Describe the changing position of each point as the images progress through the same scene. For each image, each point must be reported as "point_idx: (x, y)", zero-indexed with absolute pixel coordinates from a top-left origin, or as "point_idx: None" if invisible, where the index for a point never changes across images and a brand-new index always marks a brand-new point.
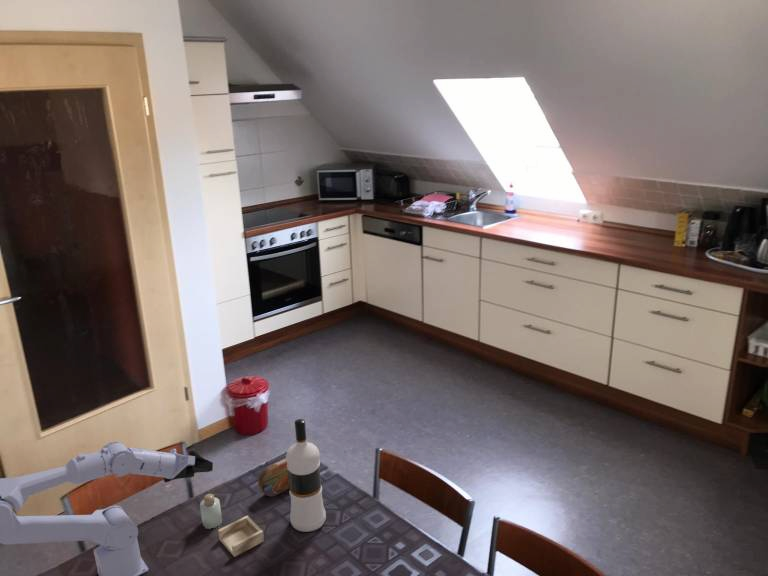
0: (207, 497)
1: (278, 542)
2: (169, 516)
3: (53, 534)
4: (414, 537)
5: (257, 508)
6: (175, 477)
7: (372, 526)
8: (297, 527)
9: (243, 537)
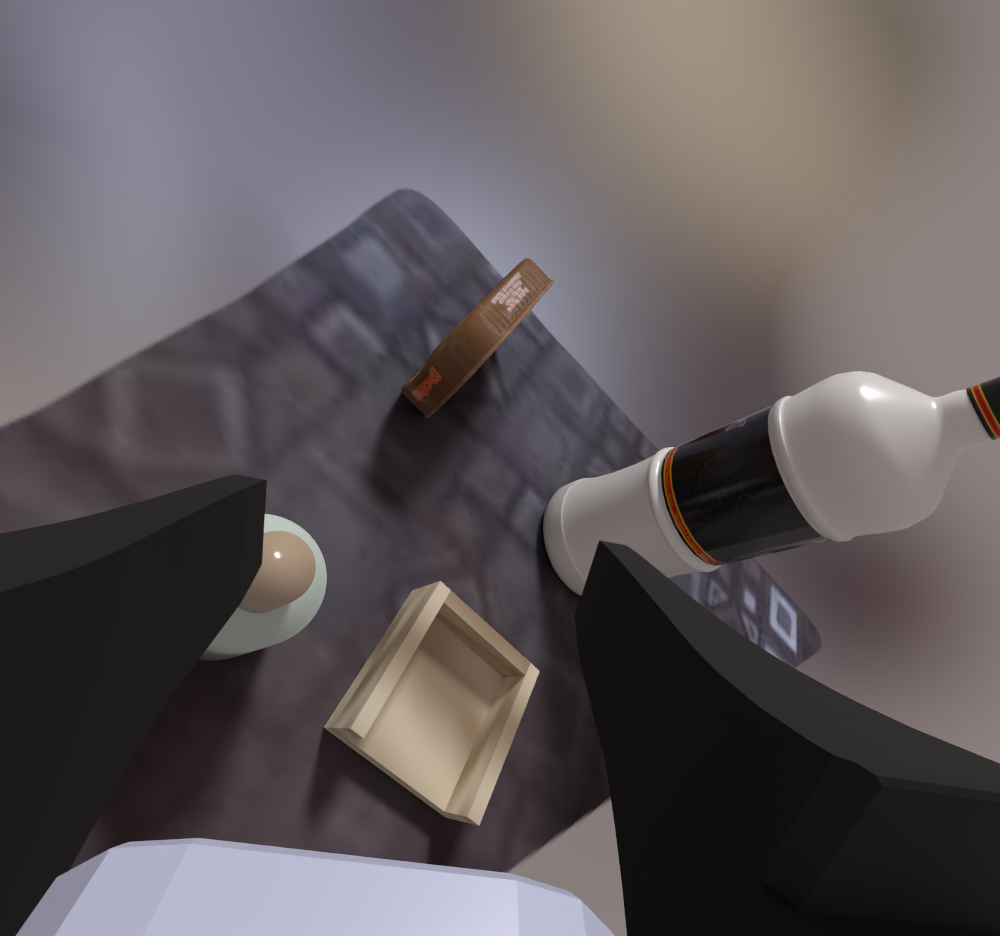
0: (271, 575)
1: (549, 665)
2: None
3: None
4: (755, 570)
5: (403, 482)
6: (81, 830)
7: None
8: None
9: (447, 696)
